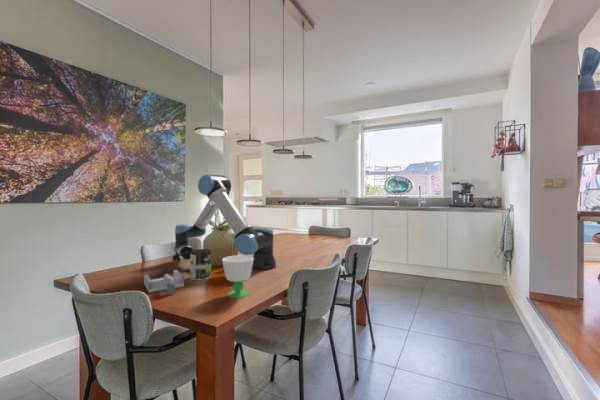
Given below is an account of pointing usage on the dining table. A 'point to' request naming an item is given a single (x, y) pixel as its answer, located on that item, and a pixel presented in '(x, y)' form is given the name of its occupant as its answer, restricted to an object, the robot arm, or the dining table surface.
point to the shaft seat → (164, 283)
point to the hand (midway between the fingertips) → (195, 258)
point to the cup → (237, 273)
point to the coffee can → (200, 264)
